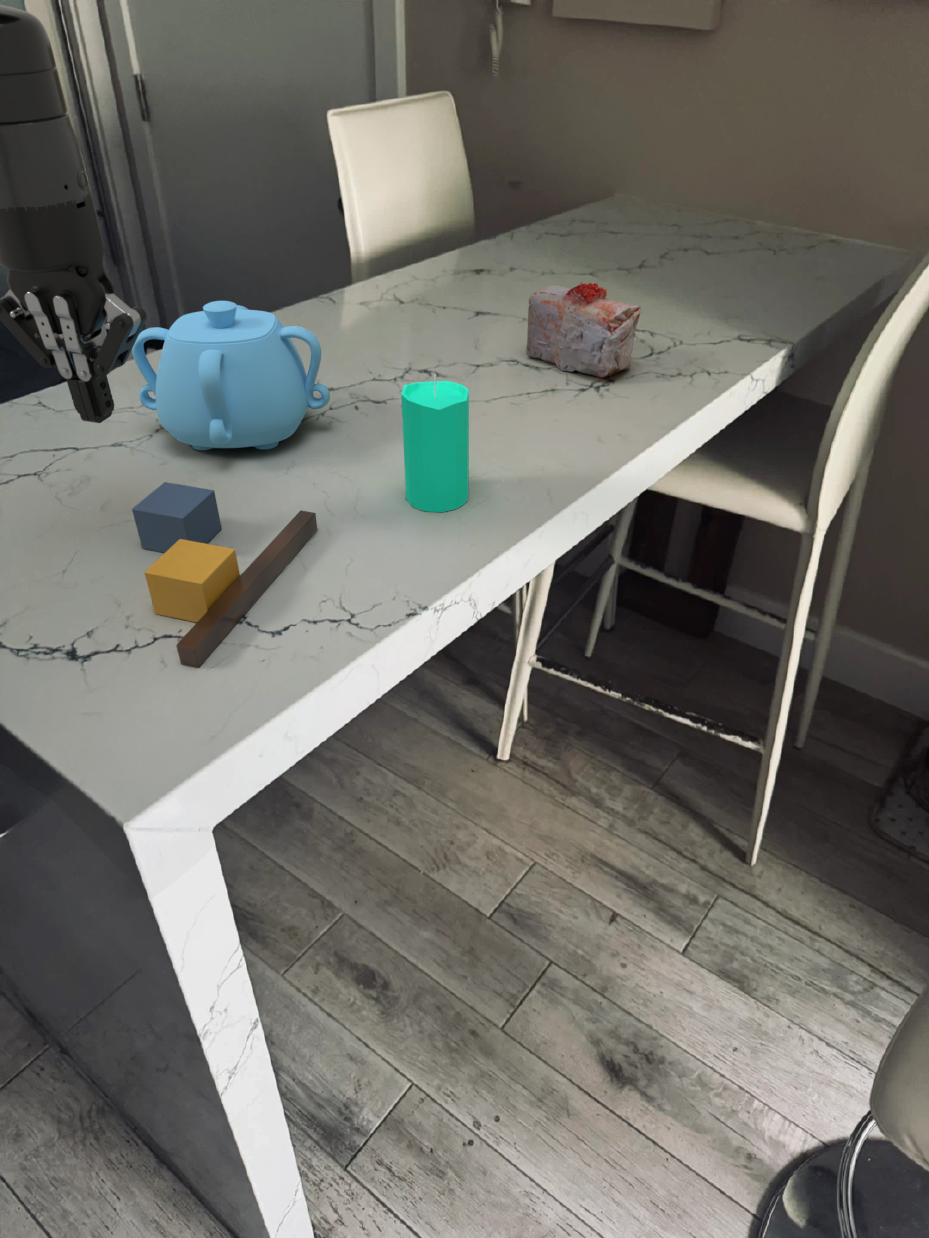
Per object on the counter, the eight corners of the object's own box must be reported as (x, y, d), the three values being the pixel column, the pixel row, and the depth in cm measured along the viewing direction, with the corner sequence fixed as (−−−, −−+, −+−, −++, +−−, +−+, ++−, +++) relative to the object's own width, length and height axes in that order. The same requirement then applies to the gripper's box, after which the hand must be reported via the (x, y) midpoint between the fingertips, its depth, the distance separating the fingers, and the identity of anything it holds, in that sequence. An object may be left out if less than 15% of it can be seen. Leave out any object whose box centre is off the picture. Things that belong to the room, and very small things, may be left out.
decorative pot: (270, 390, 104) (253, 271, 95) (345, 434, 94) (333, 306, 86) (139, 427, 95) (107, 301, 87) (206, 481, 85) (178, 344, 77)
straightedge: (198, 668, 63) (193, 649, 62) (180, 664, 64) (175, 644, 62) (317, 530, 78) (315, 512, 77) (302, 527, 79) (300, 510, 78)
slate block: (192, 558, 75) (183, 518, 72) (141, 548, 76) (131, 508, 73) (222, 529, 78) (214, 489, 76) (173, 520, 80) (164, 481, 77)
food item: (642, 368, 109) (652, 287, 103) (608, 388, 104) (616, 304, 98) (552, 343, 116) (557, 266, 110) (516, 361, 111) (519, 281, 105)
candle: (395, 505, 82) (388, 382, 75) (421, 476, 86) (417, 358, 79) (454, 517, 80) (453, 393, 73) (478, 488, 84) (479, 368, 77)
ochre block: (211, 626, 67) (201, 583, 65) (154, 614, 68) (143, 572, 66) (243, 590, 71) (235, 548, 68) (189, 579, 72) (179, 538, 70)
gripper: (-83, 195, 60) (0, 427, 71) (78, 209, 57) (140, 449, 68) (-6, 173, 66) (61, 391, 76) (145, 184, 63) (192, 410, 73)
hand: (98, 418), depth 72 cm, fingers closed
